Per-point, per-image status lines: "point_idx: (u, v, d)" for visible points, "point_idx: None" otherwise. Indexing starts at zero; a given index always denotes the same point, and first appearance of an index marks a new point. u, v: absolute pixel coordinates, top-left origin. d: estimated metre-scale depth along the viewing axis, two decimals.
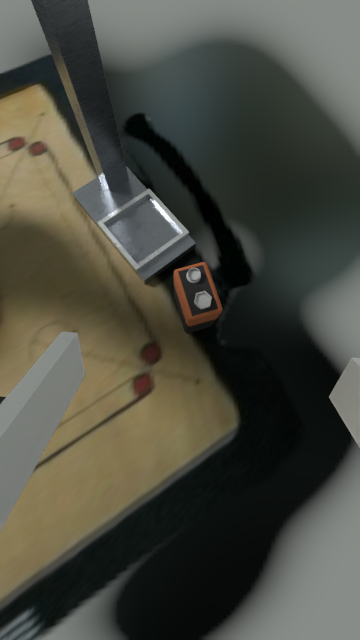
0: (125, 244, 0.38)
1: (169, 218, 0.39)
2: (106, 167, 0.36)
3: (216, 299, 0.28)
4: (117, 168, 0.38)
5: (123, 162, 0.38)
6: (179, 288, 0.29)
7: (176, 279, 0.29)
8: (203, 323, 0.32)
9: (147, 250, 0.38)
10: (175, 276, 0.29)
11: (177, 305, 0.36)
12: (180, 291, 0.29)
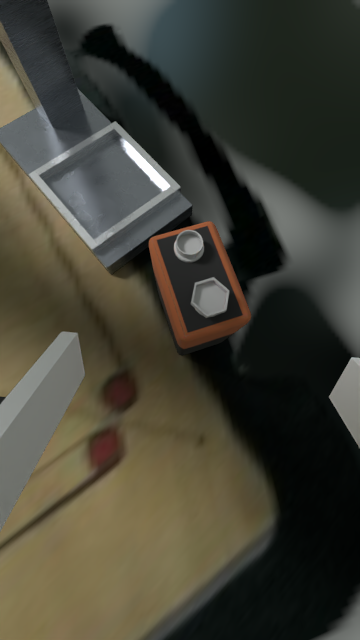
0: (76, 209, 0.23)
1: (148, 167, 0.24)
2: (36, 76, 0.21)
3: (238, 295, 0.13)
4: (59, 82, 0.23)
5: (68, 73, 0.23)
6: (160, 274, 0.14)
7: (153, 256, 0.14)
8: (210, 341, 0.17)
9: (113, 219, 0.23)
10: (151, 250, 0.14)
11: (163, 308, 0.21)
12: (162, 280, 0.14)
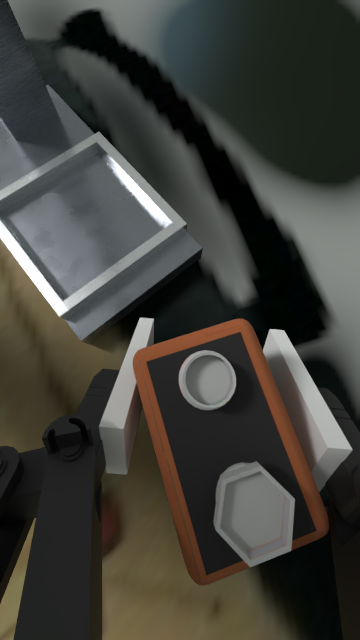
0: (42, 254, 0.17)
1: (142, 194, 0.18)
2: None
3: (304, 483, 0.07)
4: (19, 79, 0.16)
5: (32, 66, 0.16)
6: (152, 430, 0.07)
7: (141, 391, 0.08)
8: None
9: (92, 267, 0.17)
10: (137, 378, 0.08)
11: None
12: (156, 444, 0.07)
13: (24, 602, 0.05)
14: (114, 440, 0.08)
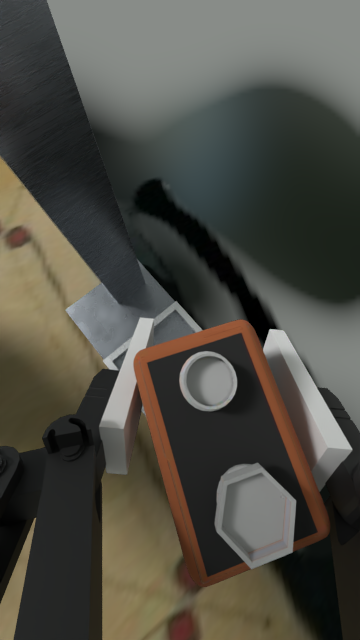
0: None
1: None
2: (114, 286, 0.24)
3: (305, 484, 0.07)
4: (130, 280, 0.26)
5: (138, 273, 0.26)
6: (153, 431, 0.07)
7: (142, 392, 0.08)
8: None
9: None
10: (138, 379, 0.08)
11: None
12: (156, 446, 0.07)
13: (24, 602, 0.05)
14: (114, 440, 0.08)
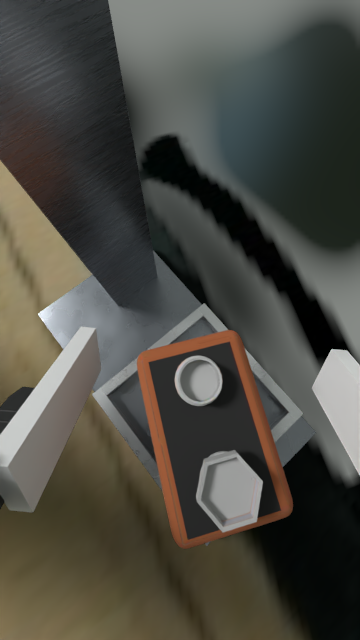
0: None
1: None
2: (111, 279, 0.15)
3: (274, 471, 0.08)
4: (136, 270, 0.16)
5: (150, 259, 0.16)
6: (150, 420, 0.09)
7: (142, 387, 0.09)
8: None
9: None
10: (140, 376, 0.09)
11: None
12: (152, 432, 0.09)
13: None
14: (2, 478, 0.06)
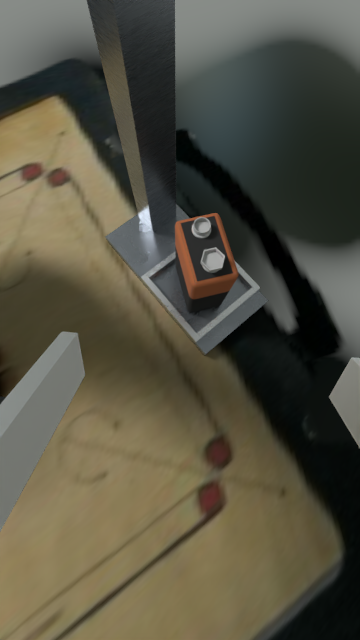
0: (177, 304, 0.29)
1: None
2: (154, 207, 0.28)
3: (231, 261, 0.21)
4: (166, 206, 0.29)
5: (174, 199, 0.29)
6: (181, 245, 0.21)
7: (178, 233, 0.22)
8: (211, 297, 0.25)
9: (207, 312, 0.29)
10: (177, 229, 0.22)
11: (179, 277, 0.29)
12: (182, 249, 0.21)
13: None
14: None
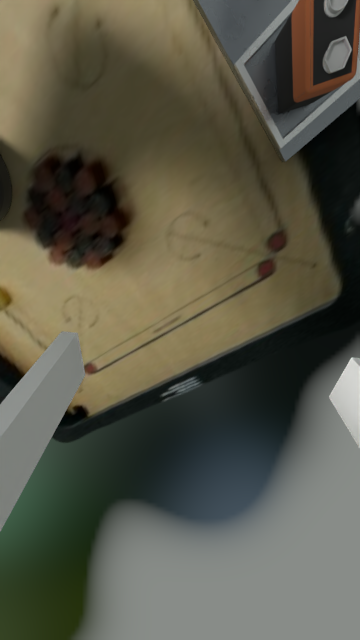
0: (268, 102, 0.29)
1: None
2: None
3: (354, 54, 0.21)
4: None
5: None
6: (306, 30, 0.20)
7: (306, 9, 0.20)
8: (313, 98, 0.25)
9: (297, 112, 0.30)
10: (306, 1, 0.19)
11: (278, 63, 0.27)
12: (307, 36, 0.20)
13: None
14: None
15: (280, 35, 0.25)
